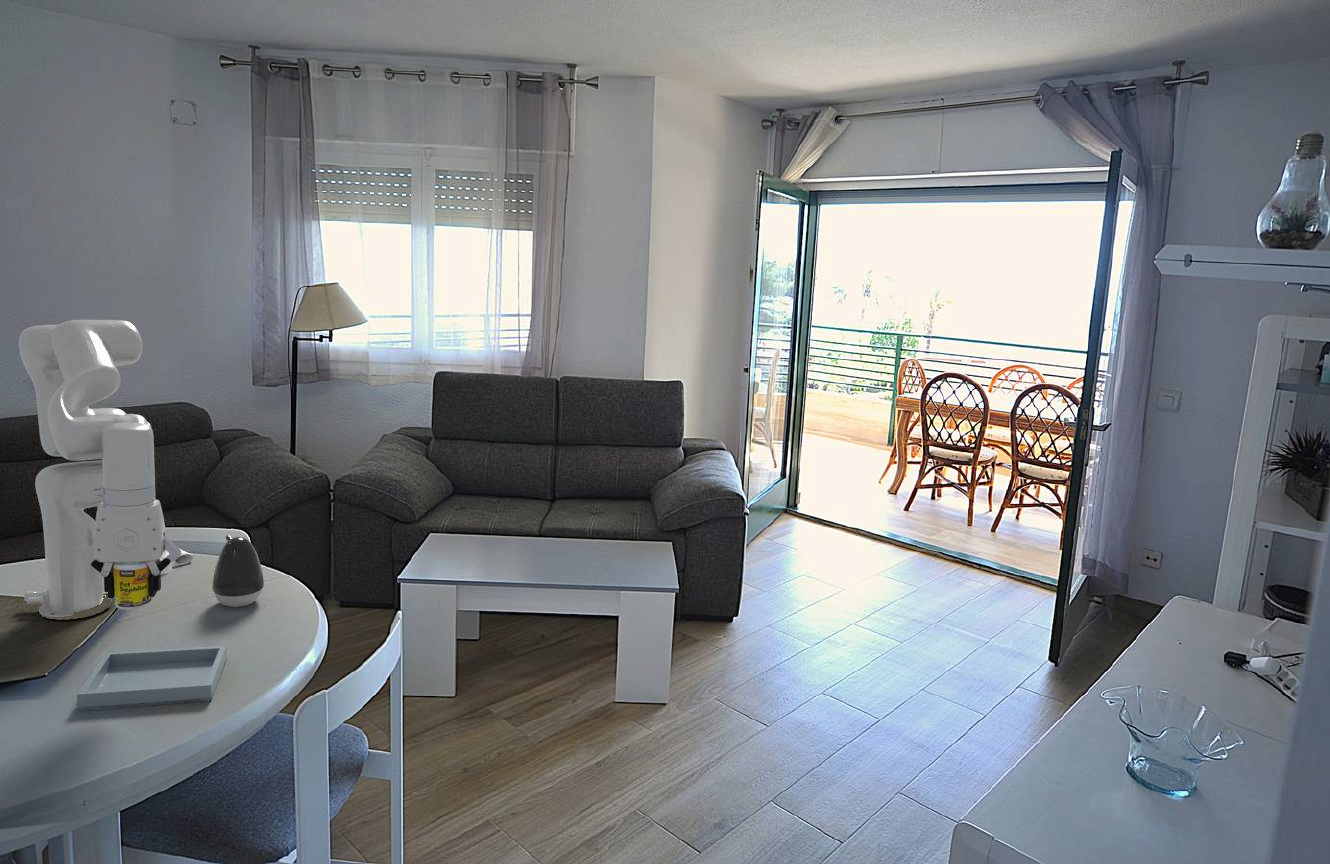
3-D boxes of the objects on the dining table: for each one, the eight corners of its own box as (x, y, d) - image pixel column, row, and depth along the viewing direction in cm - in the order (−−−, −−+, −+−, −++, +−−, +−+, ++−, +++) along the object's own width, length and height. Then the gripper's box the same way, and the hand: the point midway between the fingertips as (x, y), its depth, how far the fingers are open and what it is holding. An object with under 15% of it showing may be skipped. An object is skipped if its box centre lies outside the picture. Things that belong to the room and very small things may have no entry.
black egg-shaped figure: (251, 590, 198) (250, 527, 196) (272, 604, 192) (271, 539, 189) (204, 600, 191) (203, 535, 188) (224, 615, 184) (223, 548, 181)
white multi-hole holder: (200, 566, 211) (137, 582, 199) (161, 549, 221) (99, 563, 209) (200, 553, 211) (137, 568, 199) (161, 536, 220) (99, 549, 208)
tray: (78, 710, 144) (77, 694, 143) (106, 667, 159) (105, 652, 158) (211, 700, 150) (211, 685, 149) (226, 660, 165) (226, 645, 164)
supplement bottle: (115, 613, 147) (112, 556, 145) (114, 601, 151) (112, 546, 149) (153, 608, 150) (151, 552, 148) (151, 597, 154) (149, 542, 152)
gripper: (63, 501, 141) (68, 605, 144) (181, 501, 146) (183, 601, 150) (78, 489, 148) (83, 588, 151) (190, 489, 153) (192, 585, 157)
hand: (133, 593), depth 150 cm, fingers closed on supplement bottle, 5 cm apart
